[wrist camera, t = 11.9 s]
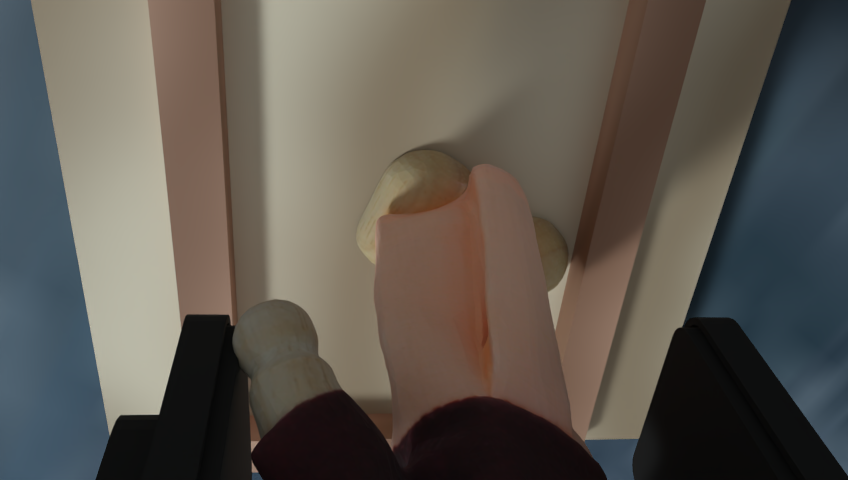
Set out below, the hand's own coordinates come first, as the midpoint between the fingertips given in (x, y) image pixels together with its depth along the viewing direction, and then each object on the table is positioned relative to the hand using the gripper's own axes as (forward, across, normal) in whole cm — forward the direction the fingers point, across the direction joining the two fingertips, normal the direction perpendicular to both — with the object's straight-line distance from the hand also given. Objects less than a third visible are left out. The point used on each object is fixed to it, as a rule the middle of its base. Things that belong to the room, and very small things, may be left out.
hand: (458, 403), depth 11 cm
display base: (+7, 0, 0) cm, 7 cm away
